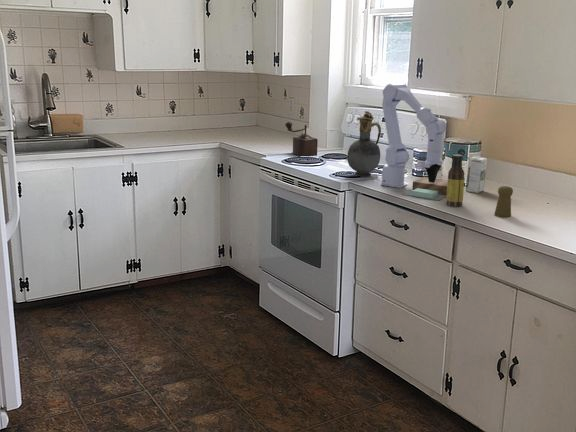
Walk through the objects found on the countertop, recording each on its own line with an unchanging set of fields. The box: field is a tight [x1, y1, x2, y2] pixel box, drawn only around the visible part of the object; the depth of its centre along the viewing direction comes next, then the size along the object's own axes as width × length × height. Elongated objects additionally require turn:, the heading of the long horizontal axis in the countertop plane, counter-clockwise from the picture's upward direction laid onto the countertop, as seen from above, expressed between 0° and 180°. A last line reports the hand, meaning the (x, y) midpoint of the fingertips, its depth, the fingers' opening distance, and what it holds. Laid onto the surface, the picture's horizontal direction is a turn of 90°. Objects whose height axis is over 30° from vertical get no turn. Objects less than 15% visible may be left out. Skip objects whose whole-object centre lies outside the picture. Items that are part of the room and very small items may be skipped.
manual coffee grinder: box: [285, 121, 318, 157], centre depth 349 cm, size 16×11×18 cm
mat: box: [401, 189, 447, 201], centre depth 265 cm, size 16×9×1 cm, turn 56°
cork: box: [493, 185, 514, 219], centre depth 235 cm, size 6×6×11 cm
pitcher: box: [346, 110, 382, 178], centre depth 299 cm, size 11×19×30 cm, turn 133°
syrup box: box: [465, 156, 488, 194], centre depth 272 cm, size 6×6×14 cm
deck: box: [411, 176, 448, 197], centre depth 273 cm, size 15×12×4 cm
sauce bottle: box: [446, 153, 465, 208], centre depth 247 cm, size 6×6×20 cm
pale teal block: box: [411, 188, 438, 200], centre depth 263 cm, size 9×6×2 cm, turn 57°
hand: (431, 182), depth 268 cm, fingers closed
